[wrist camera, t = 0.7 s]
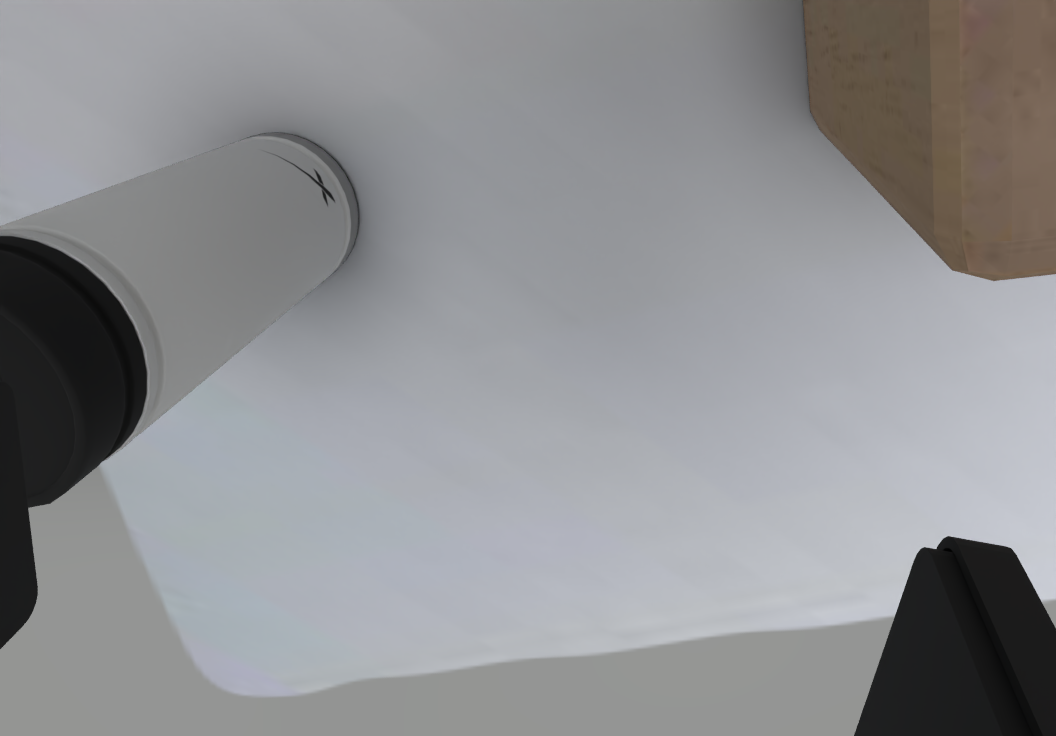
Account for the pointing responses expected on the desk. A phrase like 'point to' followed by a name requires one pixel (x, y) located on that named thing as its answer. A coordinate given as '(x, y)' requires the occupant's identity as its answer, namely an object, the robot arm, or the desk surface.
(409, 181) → the desk surface
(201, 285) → the travel mug
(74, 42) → the desk surface
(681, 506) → the desk surface
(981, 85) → the block
